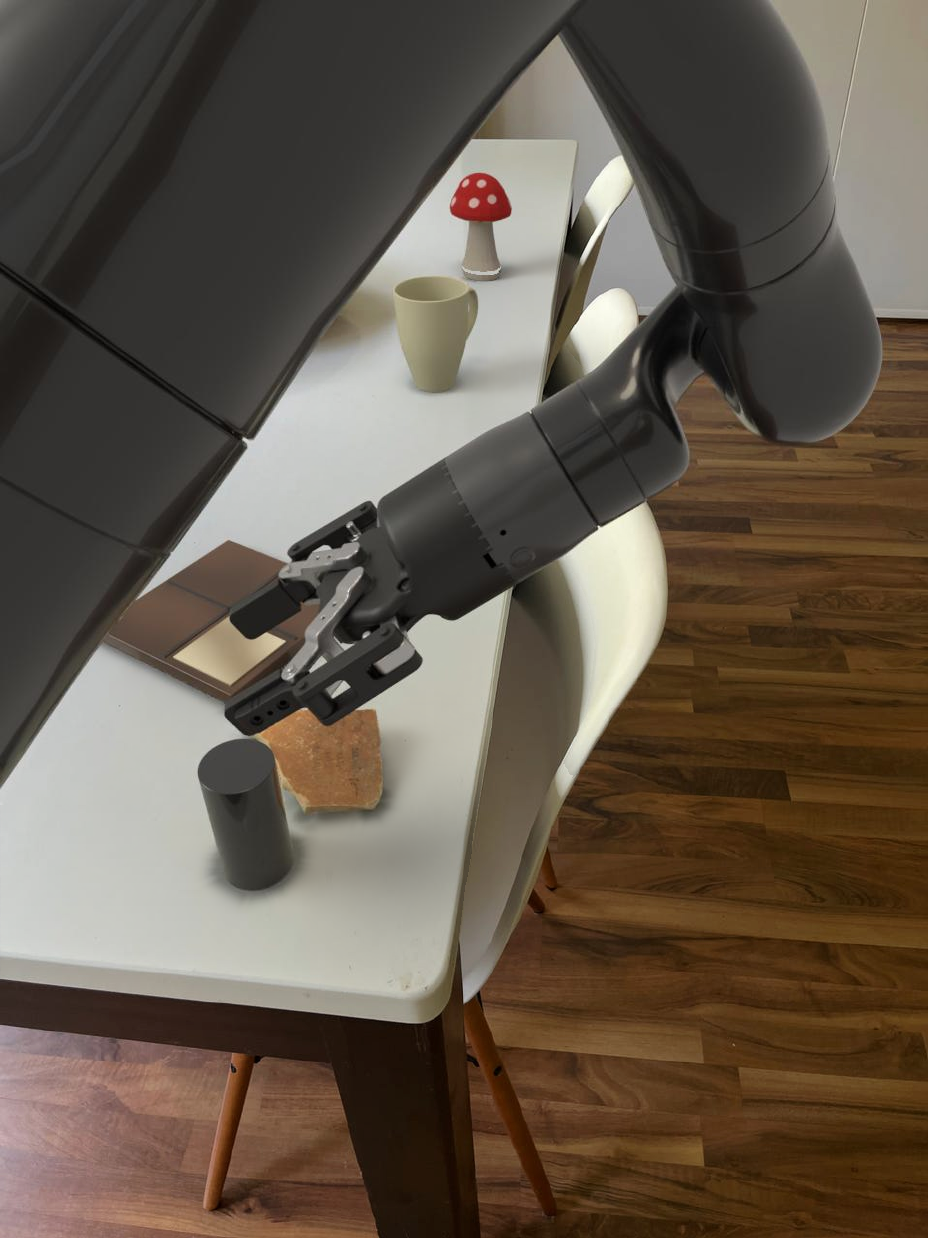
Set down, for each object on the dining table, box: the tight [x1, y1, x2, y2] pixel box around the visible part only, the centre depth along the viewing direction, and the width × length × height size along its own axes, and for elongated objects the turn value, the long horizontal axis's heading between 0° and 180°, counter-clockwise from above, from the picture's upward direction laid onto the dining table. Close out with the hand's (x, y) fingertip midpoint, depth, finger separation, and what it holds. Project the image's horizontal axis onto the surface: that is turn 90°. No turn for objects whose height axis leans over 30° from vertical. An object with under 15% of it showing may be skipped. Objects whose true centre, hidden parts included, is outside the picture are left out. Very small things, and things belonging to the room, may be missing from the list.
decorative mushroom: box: [449, 172, 513, 282], centre depth 150 cm, size 10×9×15 cm
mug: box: [392, 275, 479, 393], centre depth 120 cm, size 11×10×12 cm
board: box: [103, 539, 319, 704], centre depth 85 cm, size 16×16×1 cm
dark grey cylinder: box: [197, 738, 295, 891], centre depth 62 cm, size 5×5×9 cm
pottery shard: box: [251, 708, 384, 816], centre depth 71 cm, size 10×9×2 cm
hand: (236, 671), depth 54 cm, fingers open, 8 cm apart
